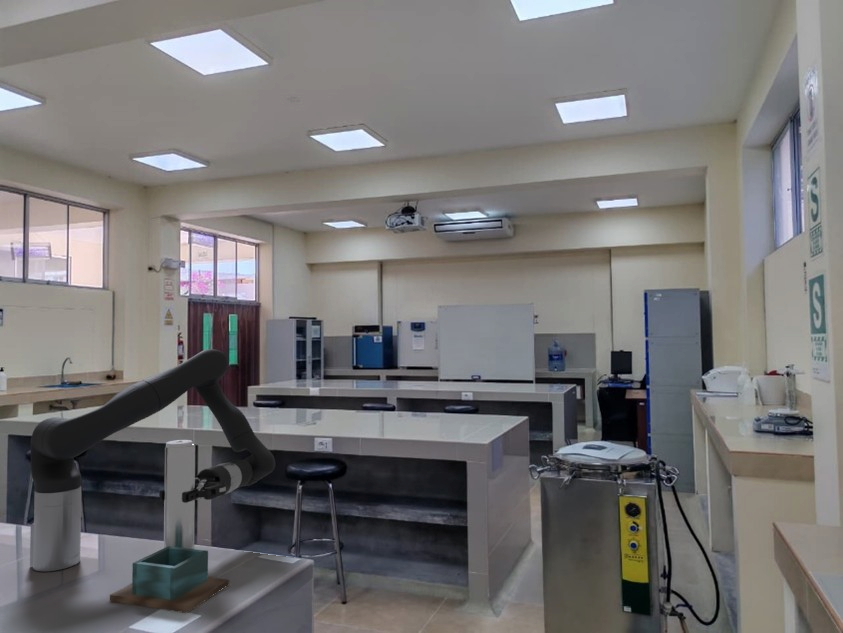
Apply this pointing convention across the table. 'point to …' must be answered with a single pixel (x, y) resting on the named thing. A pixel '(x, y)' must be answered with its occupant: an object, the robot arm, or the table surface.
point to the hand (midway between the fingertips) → (172, 496)
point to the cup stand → (170, 580)
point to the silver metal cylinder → (179, 494)
